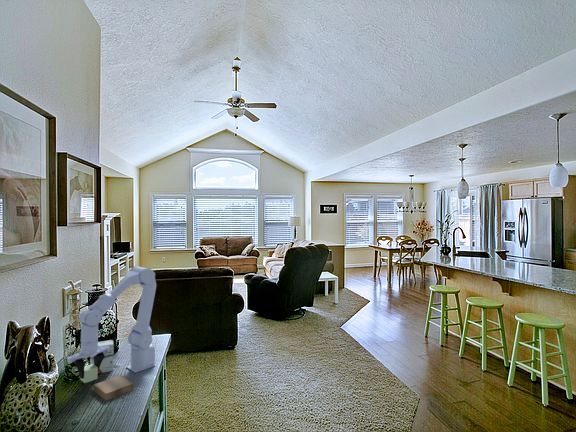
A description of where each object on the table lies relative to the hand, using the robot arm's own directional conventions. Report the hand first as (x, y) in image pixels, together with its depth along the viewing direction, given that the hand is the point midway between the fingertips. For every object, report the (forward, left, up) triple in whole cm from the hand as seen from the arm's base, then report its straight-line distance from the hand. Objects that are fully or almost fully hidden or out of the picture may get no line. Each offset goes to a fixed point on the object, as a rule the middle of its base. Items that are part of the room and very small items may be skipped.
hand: (88, 375), depth 130 cm
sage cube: (0, 0, -1) cm, 1 cm away
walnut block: (-5, +10, -5) cm, 12 cm away
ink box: (-9, -10, -5) cm, 14 cm away
